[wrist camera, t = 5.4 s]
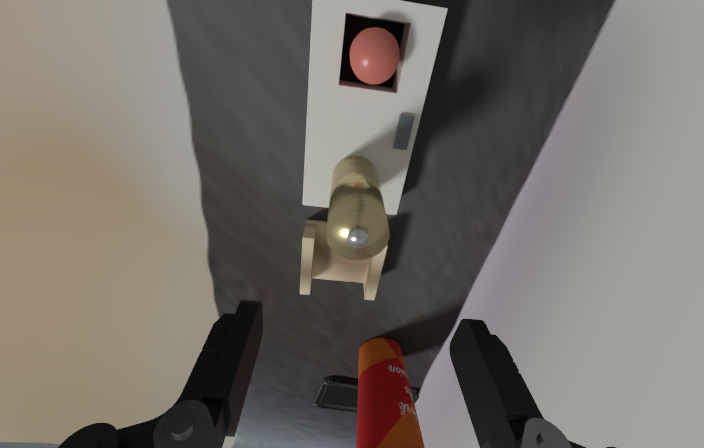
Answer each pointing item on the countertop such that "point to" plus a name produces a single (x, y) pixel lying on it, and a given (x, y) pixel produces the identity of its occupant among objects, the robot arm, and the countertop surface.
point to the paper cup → (385, 398)
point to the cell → (356, 210)
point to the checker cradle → (366, 97)
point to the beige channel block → (335, 262)
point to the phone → (342, 394)
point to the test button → (374, 55)
